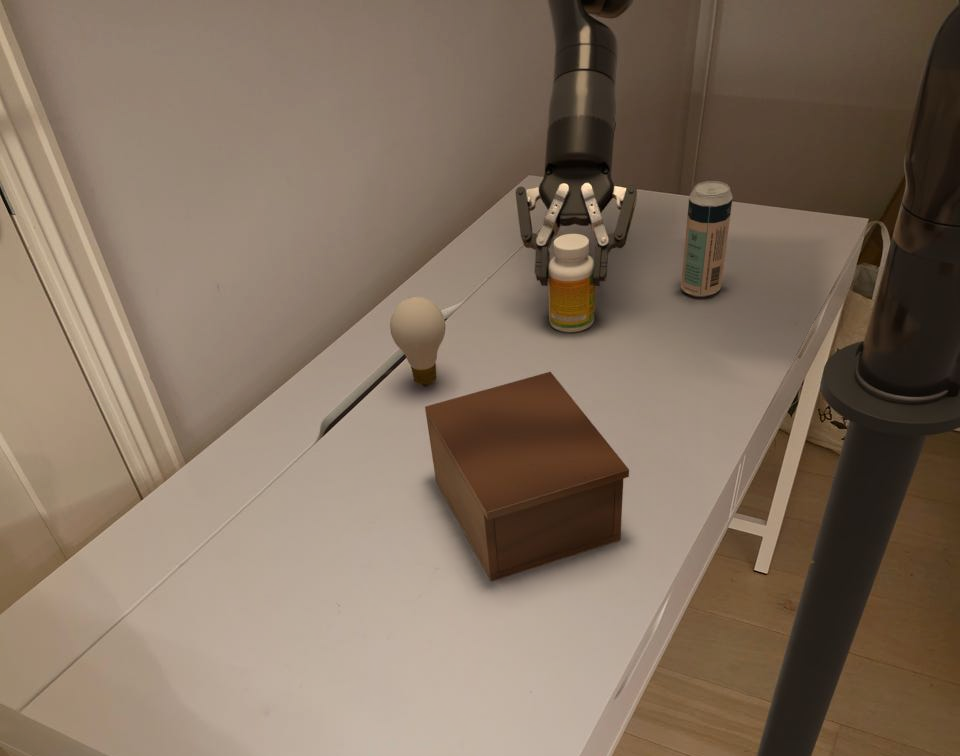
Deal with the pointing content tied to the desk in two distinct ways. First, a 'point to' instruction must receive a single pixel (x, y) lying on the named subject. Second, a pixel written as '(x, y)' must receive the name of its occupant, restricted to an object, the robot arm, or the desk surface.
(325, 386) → the desk surface
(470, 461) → the lid
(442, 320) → the light bulb
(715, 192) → the beer can
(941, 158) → the robot arm
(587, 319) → the supplement bottle
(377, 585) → the desk surface
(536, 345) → the desk surface
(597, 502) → the chest
